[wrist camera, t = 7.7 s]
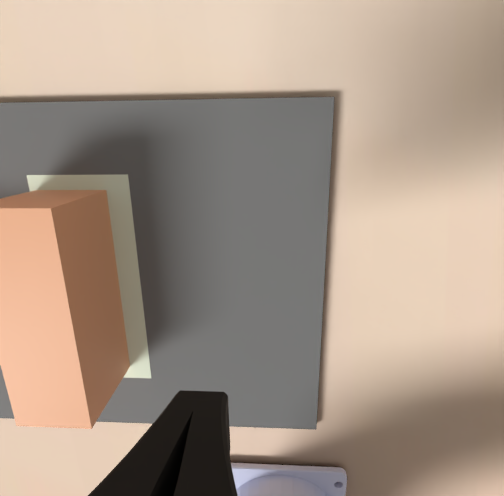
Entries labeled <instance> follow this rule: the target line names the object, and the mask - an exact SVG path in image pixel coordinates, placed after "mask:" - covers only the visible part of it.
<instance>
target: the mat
mask: <svg viewBox="0 0 504 496" xmlns="http://www.w3.org/2000/svg"><path fill="white" fill-rule="evenodd" d="M333 113H334V97H296V98H240V99H185V100H129V101H73V102H17V103H0V199H1V198H5V197H9V196H13V195H18V194H22V193H26V192H30V191H35V190H106V191H107V199H108V206H109V213H110V221H111V228H112V236H113V243H114V250H115V258H116V265H117V273H118V280H119V287H120V295H121V302H122V310H123V317H124V324H125V332H126V339H127V347H128V354H129V362H130V367H129V369H128V371H127V372H126V374H125V376H124V377H123V379H122V380H121V382H120V384H119V385H118V387H117V388H116V390H115V392H114V393H113V395H112V397H111V398H110V400H109V401H108V403H107V405H106V406H105V408H104V410H103V411H102V413H101V414H100V416H99V418H98V419H97V422H125V423H154V422H155V421H156V419H157V418H158V417H159V416H160V414H161V413H162V412H163V411H164V409H165V408H166V407H167V405H168V404H169V403H170V402H171V400H172V399H173V398H174V396H175V395H176V394H177V393H178V392H179V391H180V390H184V391H217V392H225V393H226V394H227V395H228V407H229V426H236V427H264V428H292V429H316V424H317V406H318V388H319V369H320V351H321V333H322V314H323V296H324V278H325V259H326V241H327V223H328V204H329V186H330V168H331V149H332V131H333ZM0 418H13V419H15V418H14V414H13V410H12V407H11V403H10V399H9V395H8V392H7V388H6V384H5V380H4V376H3V373H2V369H1V365H0Z"/></svg>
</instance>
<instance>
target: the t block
mask: <svg viewBox="0 0 504 496" xmlns="http://www.w3.org/2000/svg"><path fill="white" fill-rule="evenodd" d="M0 365H1V369H2V373H3V376H4V380H5V384H6V388H7V392H8V395H9V399H10V403H11V407H12V410H13V414H14V418H15V422H16V426H32V427H58V428H85V429H92V427H93V426H94V424H95V423H96V421H97V419H98V418H99V416H100V414H101V413H102V411H103V410H104V408H105V406H106V405H107V403H108V401H109V400H110V398H111V397H112V395H113V393H114V392H115V390H116V388H117V387H118V385H119V384H120V382H121V380H122V379H123V377H124V376H125V374H126V372H127V371H128V369H129V367H130V362H129V354H128V347H127V339H126V332H125V324H124V317H123V310H122V302H121V295H120V287H119V280H118V273H117V265H116V258H115V250H114V243H113V236H112V228H111V221H110V213H109V206H108V199H107V191H106V190H35V191H30V192H26V193H22V194H18V195H13V196H9V197H5V198H1V199H0Z"/></svg>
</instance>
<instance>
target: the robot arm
mask: <svg viewBox="0 0 504 496" xmlns="http://www.w3.org/2000/svg"><path fill="white" fill-rule="evenodd" d="M346 486H347V475H346V471H345V470H344V469H343V468H340V467H320V466H297V465H273V464H249V463H231V461H230V432H229V407H228V395H227V394H226V393H225V392H217V391H184V390H180V391H179V392H178V393H177V394H176V395H175V396H174V398H173V399H172V400H171V402H170V403H169V404H168V405H167V407H166V408H165V409H164V411H163V412H162V413H161V414H160V416H159V417H158V418H157V419H156V421H155V422H154V423H153V424H152V426H151V427H150V428H149V429H148V430H147V432H146V433H145V434H144V435H143V436H142V438H141V439H140V440H139V441H138V442H137V443H136V445H135V446H134V447H133V448H132V449H131V450H130V452H129V453H128V454H127V455H126V456H125V457H124V458H123V459H122V460H121V462H120V463H119V464H118V465H117V466H116V467H115V468H114V469H113V470H112V471H111V472H110V473H109V474H108V475H107V476H106V478H105V479H104V480H103V481H102V482H101V483H100V484H99V485H98V486H97V487H96V488H95V489H94V490H93V491H92V492H91V493H90V494H89V495H88V496H346Z"/></svg>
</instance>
